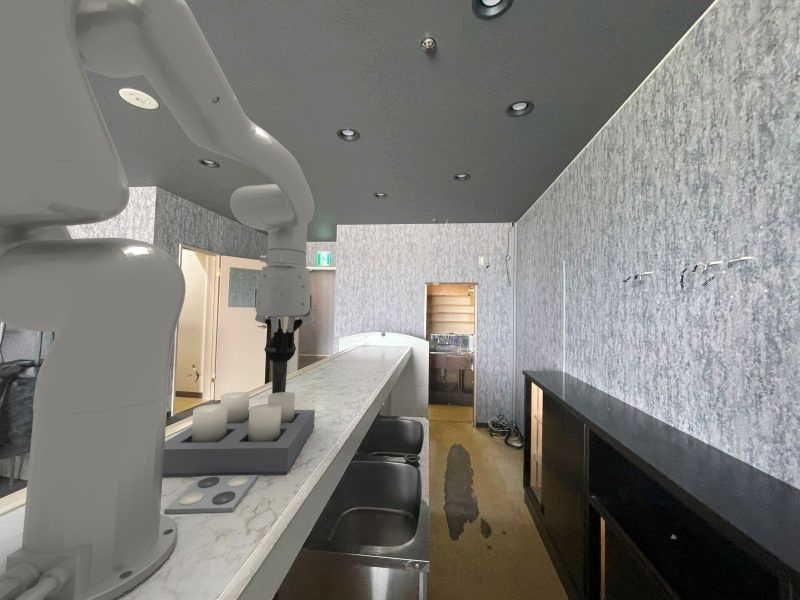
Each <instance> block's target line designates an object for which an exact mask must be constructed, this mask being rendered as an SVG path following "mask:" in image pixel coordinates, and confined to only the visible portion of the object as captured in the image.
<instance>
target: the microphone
mask: <svg viewBox="0 0 800 600" xmlns="http://www.w3.org/2000/svg"><path fill="white" fill-rule="evenodd" d="M273 342H274V336H272V337H270V339H269V340H268V341H267V342H266V344H265V347H264V352H265V355H266V358H267V359H269V360H270V361H271V362H272V364H271V365H272V366H271V367H272V368H271V369H272V370H271V371H272V372H271V373H272V374H271V375H272V376H271V377H272V378H271V379H272V381H271V382H272V383H271V384H272V385H271V386H272V387H271V390H272V391H271V394H273V393H279V392H286V388H287V387H286V386H287V376H288V375H287V374H288V362H289V361H290V360H291V359H292V358H293V356H294V355H295V352H296V350H297V347H296V345H295V342H294V347H293V348H291V352H288V353H284V352H283V351H282V352H279V353H276V352H275V350H276V348H274V347H273Z"/></svg>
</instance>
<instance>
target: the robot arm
mask: <svg viewBox="0 0 800 600" xmlns="http://www.w3.org/2000/svg"><path fill="white" fill-rule="evenodd" d="M86 70H87V71H90V72H92V73H95V74H98V75H101V76H105V77H107V78H114V79H124V78H125V79H126V78H131V77H138V76H144V77H145V78H146V79H147V81H148V82H149V83H150V85H151V86H152V87H153V89H154V90H155V91H156V94H158V96H159V97H160V98H161V100H162V102H163V103H164V104H165V105H166V108H167V109H168V110H169V111H170V113H171V115H172V116H173V117H174V119H175V120H176V121H177V122H178V124H179V126H180V127H181V129H182V130H183V132H184V133H185V134H186V136H187V138H188V139H189V140H190V141H192V143H194V144H195V145H196V146H198V147H199V148H203V149H205V150H207V151H209V152H212V153H214V154H217V155H220V156H222V157H225V158H228V159H231V160H234V161H238V162H240V163H242V164H245V165H247V166H250V167H252V168H253V169H256V170H257V171H259V172H261V173H262V174H264V175H265V176H266V177H268V178H269V179H270V180H271V181H272V182H273V184H272V183H271V184H260V185H259V184H258V185H246V186H243V187H238V188H237V189H236V190H235V191H233V193H231V195H230V201H229V206H230V210H231V212H232V214H233V216H234V217H235V218H236V220H237V221H238V222H239V223H241V224H242V225H244V226H246V227H248V228H251V229H254V230H260V231H264V232H267V235H268V236H267V240H268V241H267V251H266V252H265V253H266V254H265V255H260V257H259V260H260V262H261V263H265V264H266V266H265V265H263V266H262V268H261V272H260V274H259V279H258V285H257V291H256V299H255V313H256V315H255V318H254V320H255V321H256V322H259V323H261V324H265V325H267V327H269V329H271V332H273V337H274V342H273V347H274V348H276V350H275V352H276V353H279V352H282V351H283V352H284V353H288V352H291V348H293V347H294V343H295V332H297V330H298V329H299V328H301V327H302V326H303V325H306V324H309V323H313V322H314V316H313V312H312V309H313V299H312V297H313V295H312V294H313V293H312V283H311V282H312V281H311V274H310V269H309V268H307V248H308V247H307V246H308V245H307V244H308V224H310V222H311V221H312V220H313V218H314V214H315V202H314V197H313V194H312V192H311V189H310V186H309V184H308V182H307V180H306V176H305V174H304V173H303V170H302V167H301V166H300V165H299V163H298V161H297V159H296V158H295V157H294V156H293V154H292V153H291V152H290V151H289V150H288V149H287V148H286V147H285V146H283V144H281V142H279V141H278V140H277V139H276V138H274V136H272V135H271V134H270V133H269V132H267V131H266V130H264V129H263V128H262V127H260V126H259V125H257V124H256V123H254V121H251V119H250V118H249V117H248V116H247V114H246V113H245V112H244V110H243V108H242V106H241V105H240V102H239V100H238V98H237V96H236V94H235V93H234V90H233V89H232V86H231V85H230V82H229V81H228V79H227V77H226V75H225V73H224V71H223V70H222V67H221V65H220V64H219V62H218V60H217V58H216V56H215V54H214V52H213V50H212V49H211V46H210V44H209V42H208V41H207V39H206V37H205V35H204V33H203V31H202V29H201V27H200V25H199V24H198V21H197V20H196V18H195V16H194V14H193V12H192V10H191V9H190V7H189V5H188V4H187V2H186V0H0V322H1V323H2V324H5V325H8V326H10V327H13V328H17V329H19V330H20V329H21V330H25V331H31V332H32V331H33V332H35V331H36V332H42V333H43V332H44V333H49V332H50V333H57V334H56V335H55V338H54V339H53V342H52V343H51V345H50V347H49V348H48V350H47V353H46V354H45V356H44V358H43V360H42V363H41V365H40V368H39V370H38V374H37V376H36V377H37V378H36V381H35V387H34V393H33V404H32V410H33V414H32V426H31V427H32V428H31V436H30V437H31V438H30V449H29V460H28V470H27V471H28V472H27V474H28V475H27V484H26V494H25V497H26V498H25V506H24V507H25V508H24V517H23V528H22V529H23V531H22V543H21V547H20V548H18V549H16V550H15V551H14V552H12V553H10V554H9V555H7V556H6V566H5V572H4V574H2V575H0V600H115V599H116V598H118V597H120V596H121V595H123V594H124V593H126V592H129V590H132V589H133V588H135V587H136V586H137V585H138V584H140V583H141V582H143V581H145V579H146V578H148V577H149V576H151V574H153V572H155V571H156V570H157V569H158V568H159V567H160V566H161V565H162V564H163V563H164V562H166V560H167V559H168V557H169V556H170V555H171V553H172V552H173V550H174V549H175V546H176V543H177V540H178V526H177V523H176V522H175V520H174V519H173V518H172V517H170V516H168V515H165V514H161V508H162V507H161V505H162V494H163V493H162V491H163V479H164V477H163V463H164V447H165V441H166V431H167V429H166V428H167V412H168V392H169V391H168V390H169V378H170V377H169V375H170V366H171V365H170V364H171V356H172V349H173V342H174V340H175V339H174V337H175V333H176V330H177V326H178V323H179V320H180V317H181V313H182V310H183V307H184V303H185V298H186V291H187V290H186V279H185V275H184V272H183V270H182V267H181V266H180V264H179V263H178V262H177V260H176V259H175V258H174V257H173V256H172V255H171V254H169V253H168V252H167V251H166V250H164V249H163V248H161V247H159V246H158V245H155V244H152V243H149V242H147V241H143V240H139V239H138V240H137V239H132V238H127V237H125V238H124V237H89V238H88V237H87V238H86V237H84V238H83V237H82V238H80V237H79V238H73V237H72V235H71V233H70V231H69V229H68V226H69V227H71V226H81V225H92V224H97V223H102V222H106V221H108V220H112V219H113V218H115V217H117V216H119V215H120V214H121V213H122V212H123V211H124V210H126V208H127V207H128V204H129V200H130V194H131V193H130V187H129V181H128V177H127V175H126V172H125V169H124V167H123V164H122V161H121V158H120V155H119V153H118V151H117V148H116V146H115V143H114V142H113V138H112V136H111V133H110V130H109V129H108V126H107V124H106V122H105V118H104V116H103V114H102V111H101V109H100V107H99V104H98V101H97V99H96V96H95V95H94V92H93V89H92V87H91V84H90V82H89V79H88V76H87V74H86ZM282 317H284V318H285V317H286V318H287V317H288V318H287V326H286V330H285V332H284V331H283V324H282ZM300 317H301V318H300Z"/></svg>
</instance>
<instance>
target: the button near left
mask: <svg viewBox="0 0 800 600" xmlns="http://www.w3.org/2000/svg"><path fill="white" fill-rule="evenodd" d="M227 413H228V406H227V405H225V404H221V403H216V404H215V403H214V404H213V403H212V404H206V405H200V406H197V407H195V408H194V409H193V411H192V424H191V426H192V441H191V442H192V443H194V442H218V441H221V440H222V439H224V438H225V437H226V434H227Z"/></svg>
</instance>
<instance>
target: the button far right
mask: <svg viewBox="0 0 800 600" xmlns="http://www.w3.org/2000/svg"><path fill="white" fill-rule="evenodd" d="M295 402H296V394H295V393H294V392H289V391H285V392H279V393H273V394H272V393H270V394H268V397H267V404H278V405H280V406H281V423H290V422H292V421H294V410H296V409H295V405H296V403H295Z"/></svg>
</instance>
